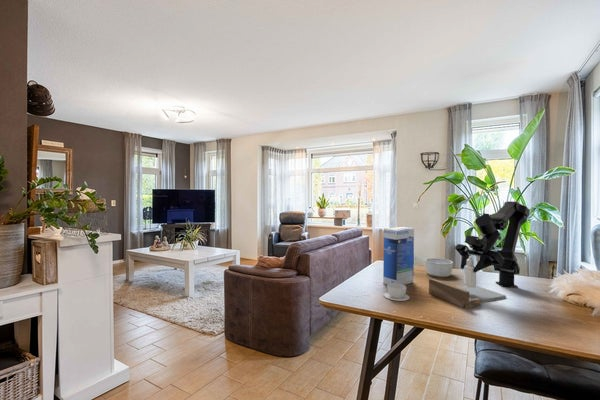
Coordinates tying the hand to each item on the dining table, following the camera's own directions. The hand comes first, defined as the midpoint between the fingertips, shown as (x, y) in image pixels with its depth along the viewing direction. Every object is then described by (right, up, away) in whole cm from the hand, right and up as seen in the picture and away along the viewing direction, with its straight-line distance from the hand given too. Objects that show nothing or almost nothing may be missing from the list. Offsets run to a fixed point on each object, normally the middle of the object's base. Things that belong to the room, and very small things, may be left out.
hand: (467, 270), depth 120 cm
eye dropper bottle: (+1, -7, +1) cm, 7 cm away
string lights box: (-22, -11, +18) cm, 30 cm away
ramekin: (+4, -10, +34) cm, 36 cm away
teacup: (-29, -11, 0) cm, 31 cm away
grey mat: (+6, -11, +2) cm, 13 cm away
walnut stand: (-7, -11, -2) cm, 13 cm away
